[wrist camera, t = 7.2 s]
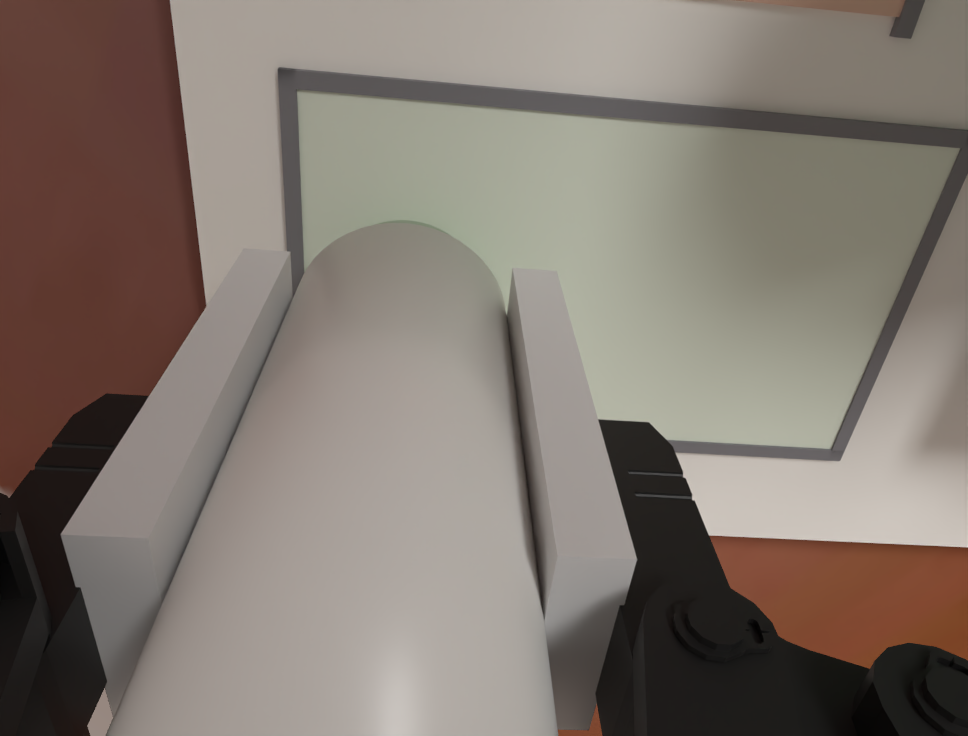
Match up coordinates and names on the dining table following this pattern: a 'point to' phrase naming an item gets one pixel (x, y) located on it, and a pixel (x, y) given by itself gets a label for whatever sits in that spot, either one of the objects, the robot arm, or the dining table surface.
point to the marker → (364, 522)
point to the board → (648, 212)
